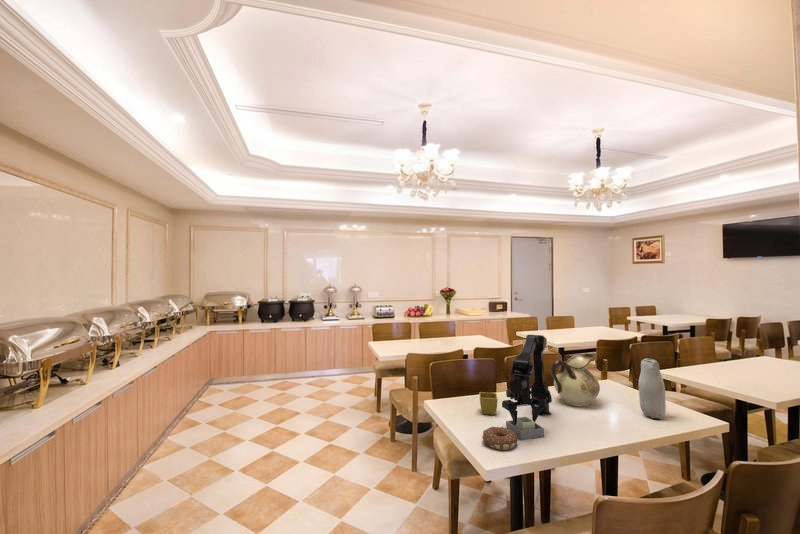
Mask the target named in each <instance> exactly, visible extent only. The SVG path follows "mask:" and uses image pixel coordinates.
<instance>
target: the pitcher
mask: <svg viewBox="0 0 800 534" xmlns="http://www.w3.org/2000/svg"><path fill="white" fill-rule="evenodd" d="M593 359H594V357H593V356H587V355H584V354H581V353H577V354H573V355H571V356H570V357H569V358H568V359H567V360H566V361H563V360H561V359H556V360H555V361H554V362H553V363H552V364H551V366H550V372H551V377H552V378H553V387H554V388H555V391H556V393H557V394H558V396H560V397H561V398H562V399H563V400H564V403H566V404H567V405H569V406H574V407H583V408H585V407H586V408H587V407H589V406H590V405H591V403H592V402H593V401H594V400H595V399H596V398H597V397H598V396H599V394H600V390H601V388H600V386H601V385H600V383H599V381H598V378H597V377H595V375H594V374H593V373H592V372H591V371H590V369H588V366H589V364H590V363H591V362H592V361H593ZM558 367H559V369H558V371H557V368H558ZM556 371H557V373H556Z"/></svg>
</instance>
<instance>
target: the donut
mask: <svg viewBox="0 0 800 534" xmlns="http://www.w3.org/2000/svg"><path fill="white" fill-rule="evenodd" d="M482 439H483V442H484V443H485V444H486V445H487V446H488V447H490V448H492V449H495V450H500V451H508V450H511V449H513V448H514V447H516V446H518V439H519V438H517V436H516V435H515V433H514V432H512V431H510V430H509V429H507V428H506V427H504V426H491V427H489V428H486V429H484V430H483V432H482Z"/></svg>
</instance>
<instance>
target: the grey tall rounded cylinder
mask: <svg viewBox="0 0 800 534" xmlns="http://www.w3.org/2000/svg"><path fill="white" fill-rule="evenodd" d="M661 373H662V372H661V370H660V363H659V362H658V361H657V360H656V359H653V358H648V357H647V358H643V359H642V360H641V361H640V374H639V378H638V384H637V385H638V394H639V397H638V398H639V407H640V410H641V411H642V413H643V414H644V415H646V416H647V417H649V418H653V419H661V418H663V417H664V416H665V414H666V409H667V405H666V387H665V382H664V379H663V376H662V374H661Z"/></svg>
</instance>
